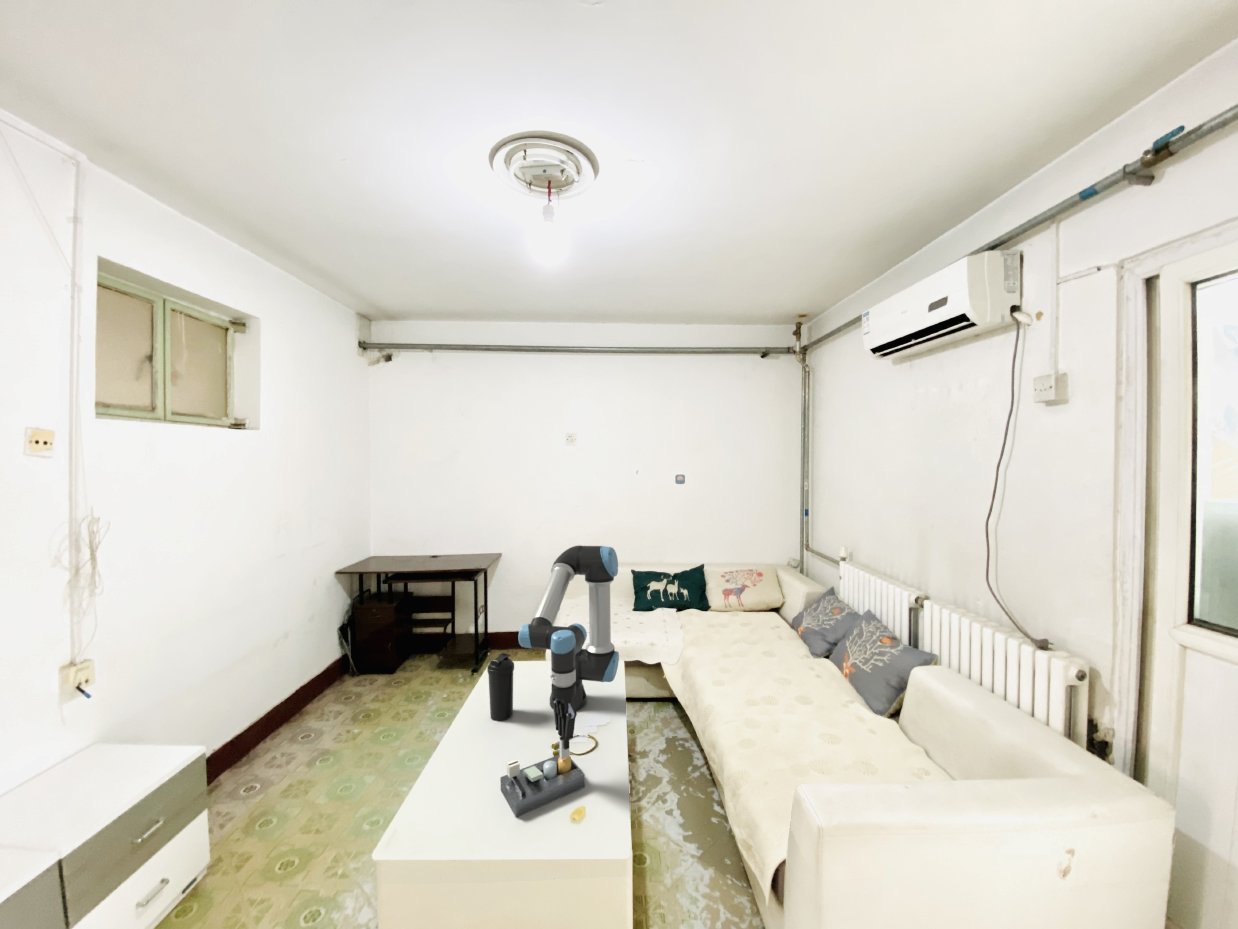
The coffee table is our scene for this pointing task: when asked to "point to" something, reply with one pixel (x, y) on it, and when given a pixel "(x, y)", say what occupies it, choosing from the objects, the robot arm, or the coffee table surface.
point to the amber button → (564, 765)
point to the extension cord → (557, 745)
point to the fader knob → (513, 768)
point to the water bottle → (501, 687)
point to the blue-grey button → (550, 770)
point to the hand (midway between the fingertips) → (564, 756)
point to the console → (540, 787)
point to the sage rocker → (533, 773)
